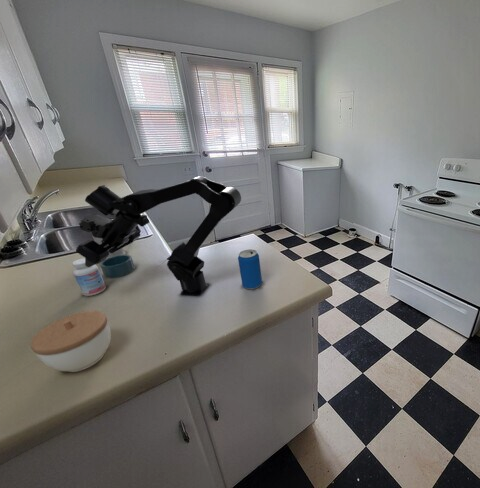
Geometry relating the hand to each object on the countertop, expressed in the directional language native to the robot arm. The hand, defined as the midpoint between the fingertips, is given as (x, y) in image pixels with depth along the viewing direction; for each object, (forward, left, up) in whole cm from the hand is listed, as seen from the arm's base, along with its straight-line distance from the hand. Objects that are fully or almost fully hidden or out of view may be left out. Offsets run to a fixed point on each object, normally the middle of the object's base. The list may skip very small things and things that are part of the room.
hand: (99, 259), depth 84 cm
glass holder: (+19, -22, -12) cm, 32 cm away
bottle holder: (+8, -12, -12) cm, 19 cm away
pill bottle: (+6, +1, -12) cm, 13 cm away
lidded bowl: (-17, +27, -12) cm, 34 cm away
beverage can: (-45, -6, -12) cm, 47 cm away
